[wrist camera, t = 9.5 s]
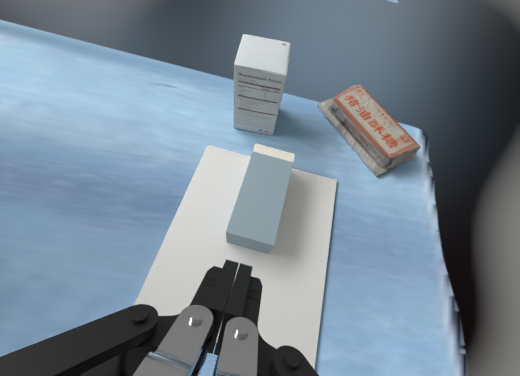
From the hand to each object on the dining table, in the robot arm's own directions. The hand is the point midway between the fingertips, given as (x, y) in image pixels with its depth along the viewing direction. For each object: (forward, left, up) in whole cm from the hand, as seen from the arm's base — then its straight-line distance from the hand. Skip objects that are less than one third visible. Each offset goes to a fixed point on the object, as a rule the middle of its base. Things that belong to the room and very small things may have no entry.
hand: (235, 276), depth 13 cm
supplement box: (-5, +30, -20) cm, 36 cm away
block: (0, +7, -17) cm, 18 cm away
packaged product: (+15, +34, -20) cm, 42 cm away
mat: (0, +8, -20) cm, 21 cm away
